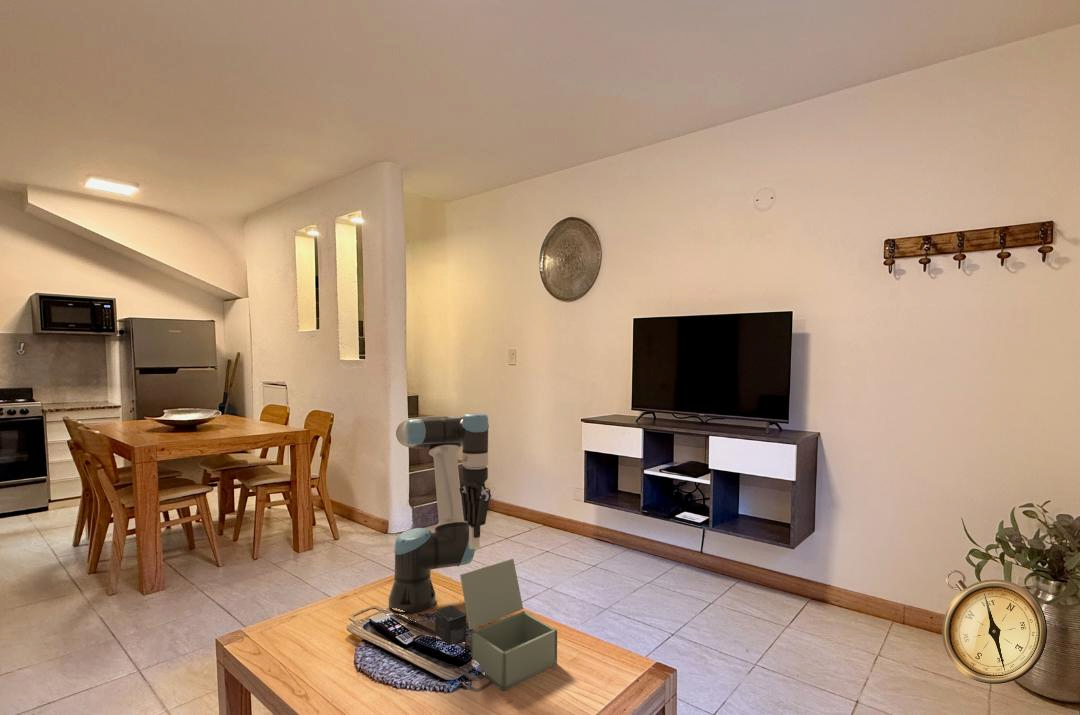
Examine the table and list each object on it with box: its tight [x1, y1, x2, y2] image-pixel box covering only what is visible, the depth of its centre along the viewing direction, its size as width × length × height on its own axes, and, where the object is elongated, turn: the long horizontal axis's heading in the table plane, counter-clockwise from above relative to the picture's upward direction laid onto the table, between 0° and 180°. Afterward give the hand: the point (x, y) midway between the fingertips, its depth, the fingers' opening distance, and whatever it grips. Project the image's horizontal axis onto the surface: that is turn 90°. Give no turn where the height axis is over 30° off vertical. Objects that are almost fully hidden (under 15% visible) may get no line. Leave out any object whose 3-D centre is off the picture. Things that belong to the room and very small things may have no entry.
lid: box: [459, 558, 524, 631], centre depth 146 cm, size 14×18×1 cm
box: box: [434, 604, 467, 645], centre depth 146 cm, size 8×6×11 cm
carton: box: [470, 611, 558, 692], centre depth 139 cm, size 14×18×9 cm
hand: (474, 547), depth 153 cm, fingers closed
